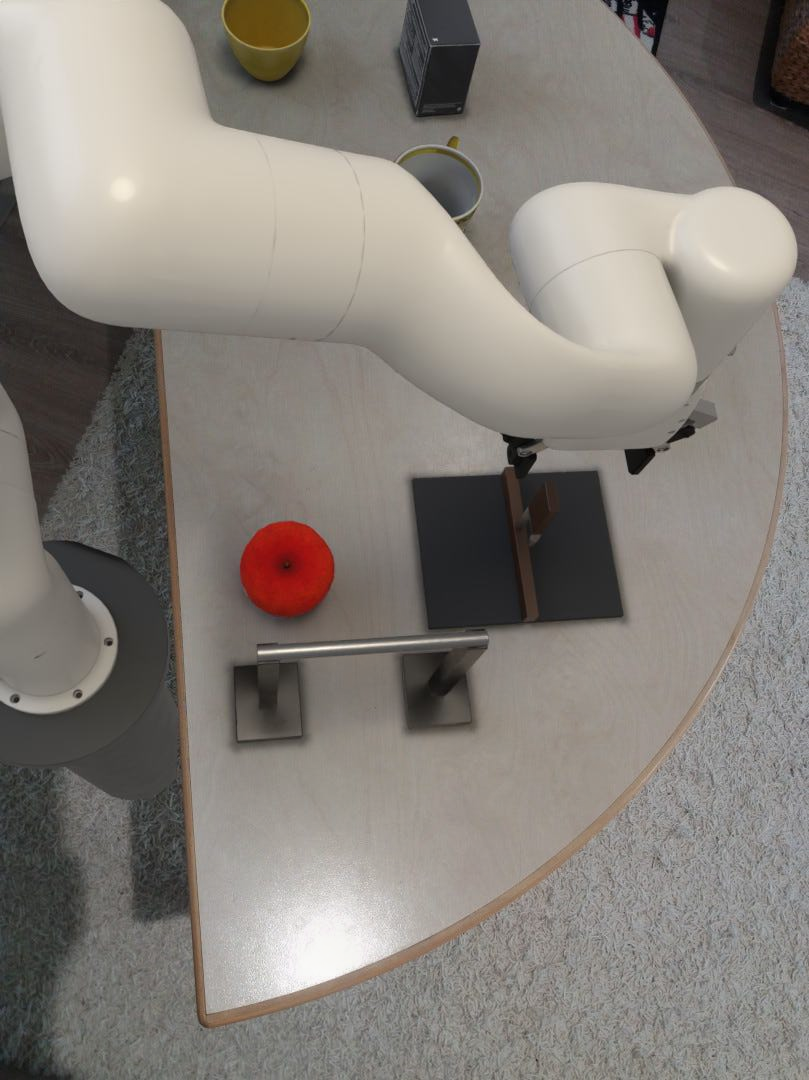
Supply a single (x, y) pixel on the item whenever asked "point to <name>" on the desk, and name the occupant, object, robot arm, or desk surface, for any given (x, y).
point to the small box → (438, 54)
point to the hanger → (540, 518)
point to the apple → (287, 569)
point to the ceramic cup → (446, 177)
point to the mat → (486, 554)
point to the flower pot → (266, 34)
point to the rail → (428, 677)
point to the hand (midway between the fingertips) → (573, 460)
